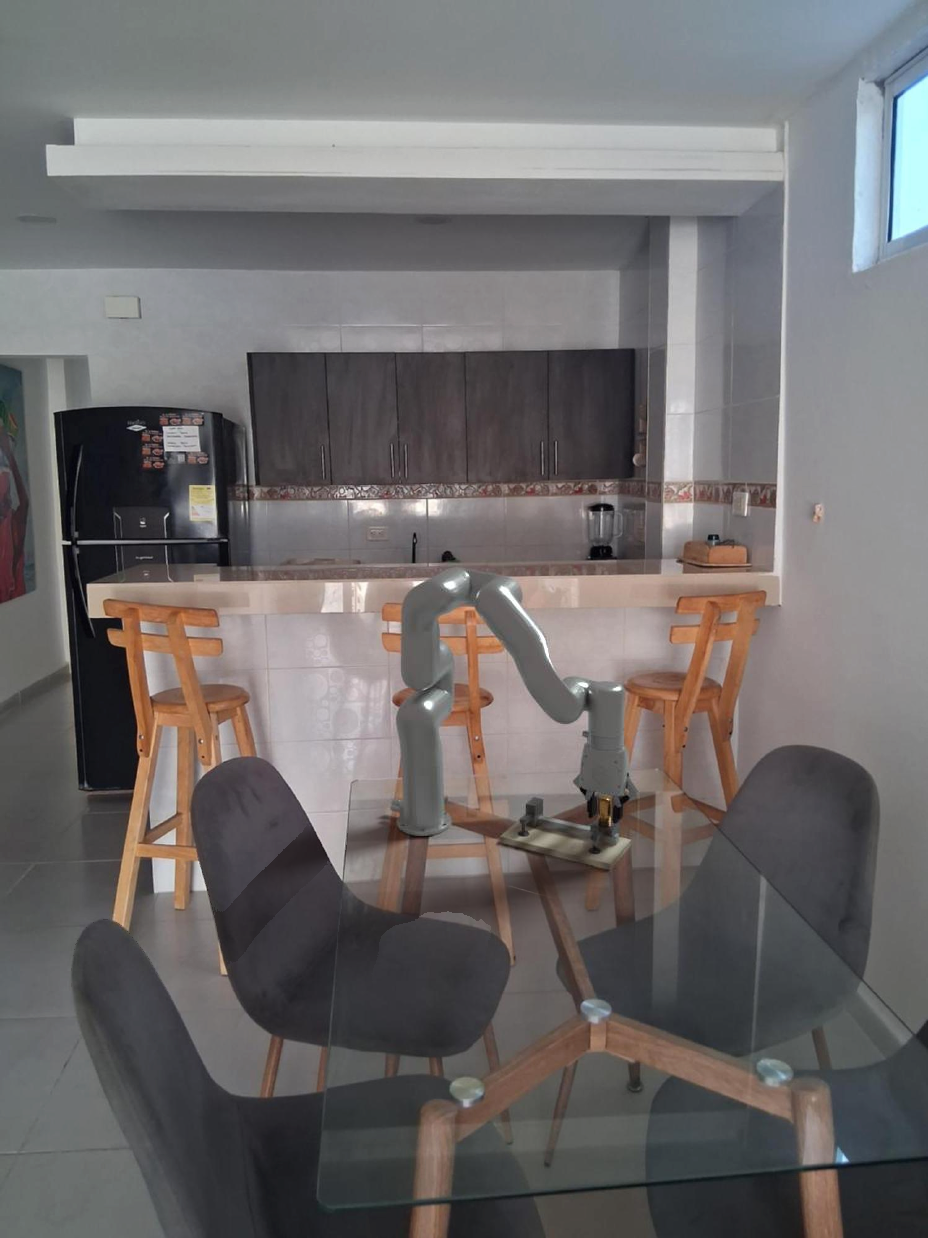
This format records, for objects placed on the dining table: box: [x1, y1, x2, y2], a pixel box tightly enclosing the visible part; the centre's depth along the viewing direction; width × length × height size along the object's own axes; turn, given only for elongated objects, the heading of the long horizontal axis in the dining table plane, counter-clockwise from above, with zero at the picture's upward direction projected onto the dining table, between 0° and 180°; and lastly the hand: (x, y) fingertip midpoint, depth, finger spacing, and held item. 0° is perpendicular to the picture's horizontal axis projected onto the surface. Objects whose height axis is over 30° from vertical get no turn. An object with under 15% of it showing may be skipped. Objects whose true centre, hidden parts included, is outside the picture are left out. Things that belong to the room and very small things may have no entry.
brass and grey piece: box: [589, 795, 620, 850], centre depth 204 cm, size 5×8×9 cm, turn 150°
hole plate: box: [499, 796, 632, 871], centre depth 208 cm, size 26×12×7 cm, turn 60°
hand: (604, 817), depth 206 cm, fingers open, 4 cm apart
